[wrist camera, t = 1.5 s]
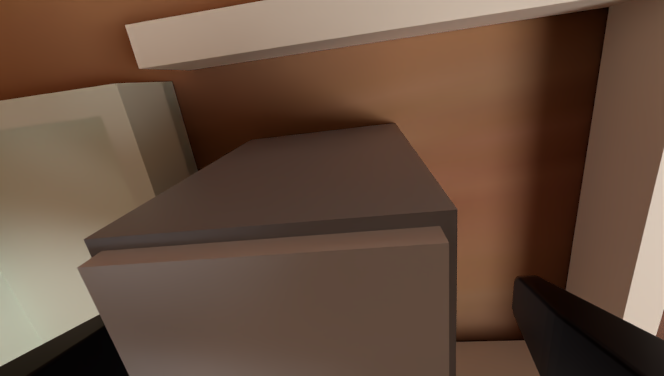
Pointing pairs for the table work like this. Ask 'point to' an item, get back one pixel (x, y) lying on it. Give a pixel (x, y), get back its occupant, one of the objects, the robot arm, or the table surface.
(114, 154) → the tray
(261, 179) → the grey block
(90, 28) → the table surface
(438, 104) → the table surface
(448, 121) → the table surface
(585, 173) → the bay
